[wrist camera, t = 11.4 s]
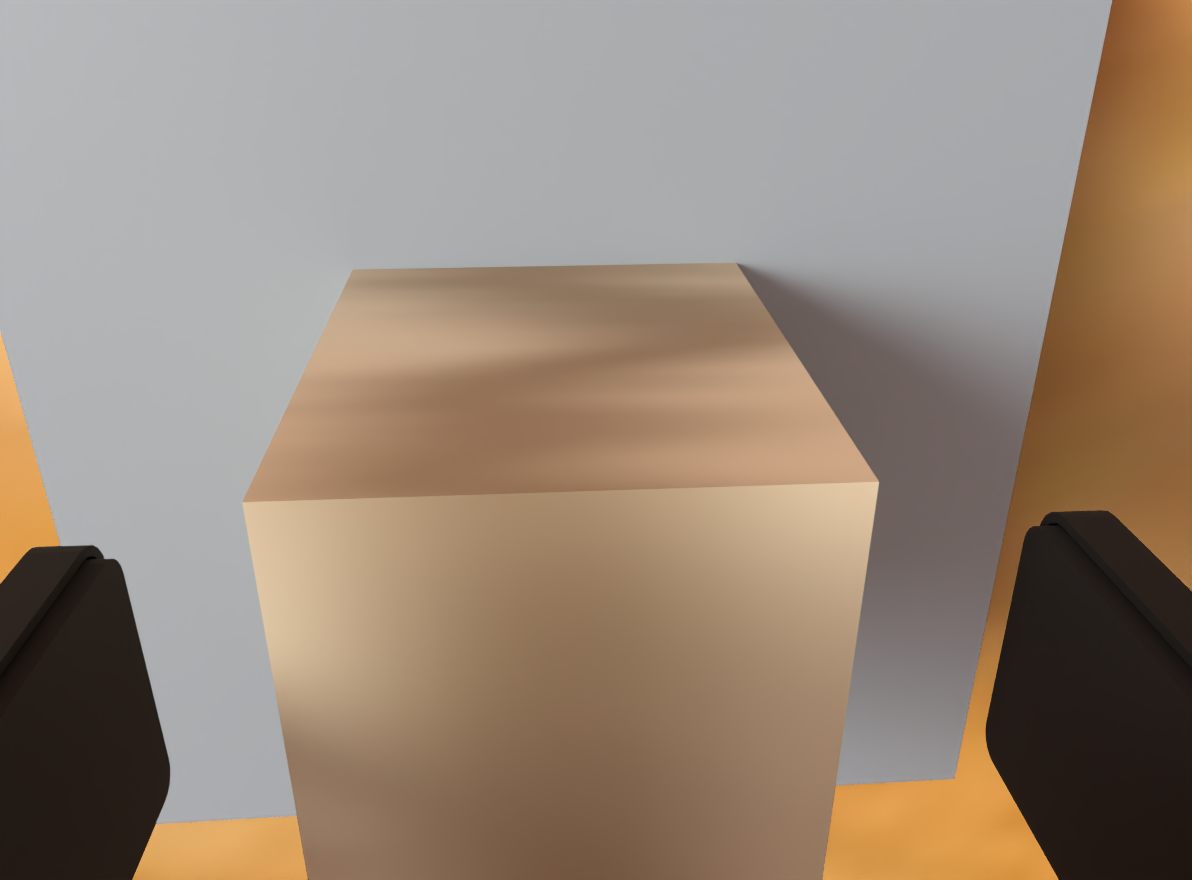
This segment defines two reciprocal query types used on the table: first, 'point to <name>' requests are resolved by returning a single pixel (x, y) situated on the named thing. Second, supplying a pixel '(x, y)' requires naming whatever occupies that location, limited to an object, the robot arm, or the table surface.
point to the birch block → (560, 580)
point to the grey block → (527, 238)
